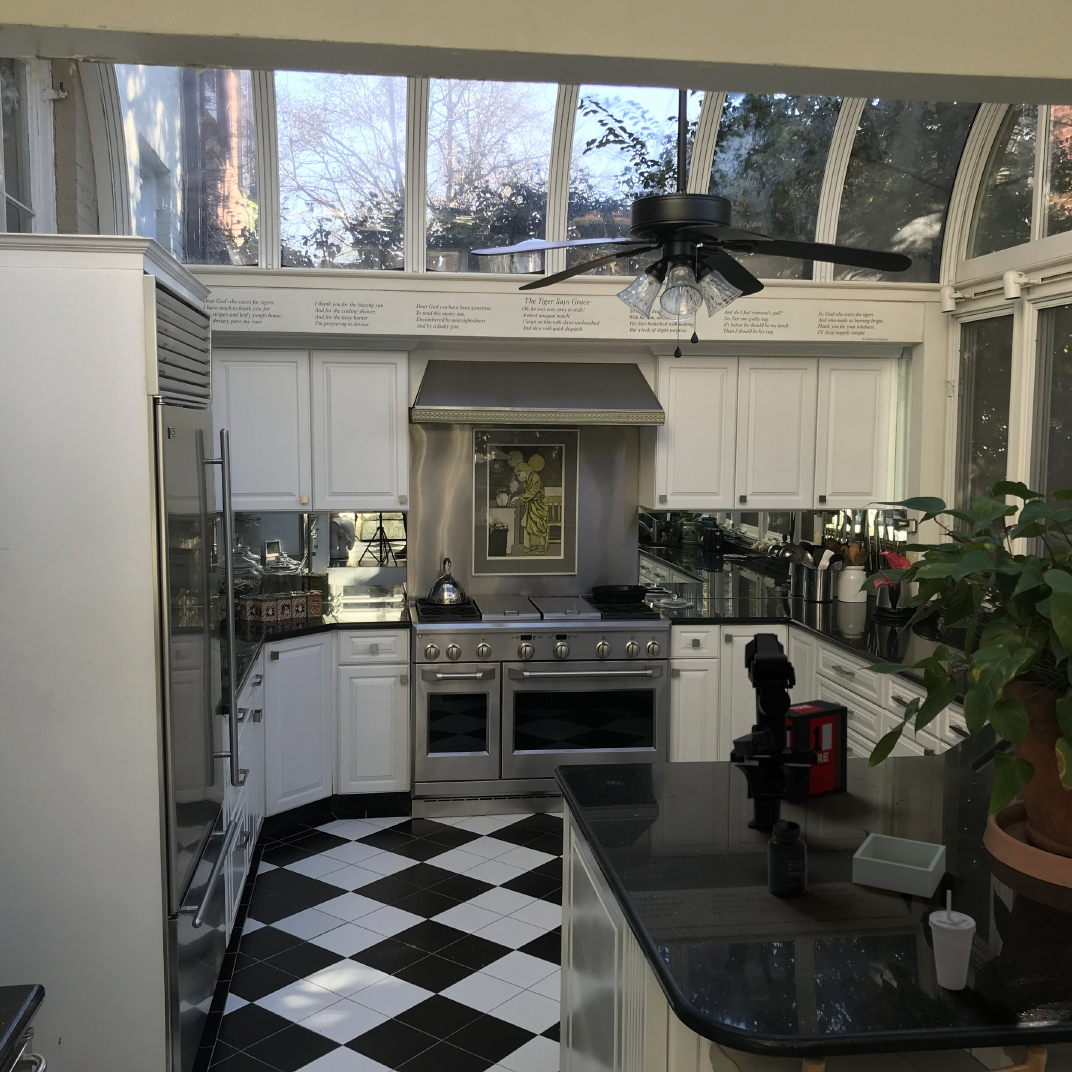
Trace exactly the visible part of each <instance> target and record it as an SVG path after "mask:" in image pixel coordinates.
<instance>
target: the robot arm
mask: <svg viewBox="0 0 1072 1072" xmlns="http://www.w3.org/2000/svg"><path fill="white" fill-rule="evenodd" d="M778 637H779V636H778V634H776V633H773V632H757V633H754V634H753V639H751V640H750V641H748V642H747V643H746V644H745V645H744V669H747V678H748V680H749V681H750V683H751V686H752V689H755V690H754V691H755V715H756V716H755V719H756V720H755V721H756V722H755V723H756V724H752V726H751V732H750V733H748V734H744V735H742V736H740V737H737V738H735V739H733V740H732V745H733V749H732V750H731V751H730V753H729V763H736V764H734V767H735V768H738V770H740V771H741V772H742V773H743V775H744V776H745V778H746V797H747V800H748V799H749V800H751V799H753V800H752V806H753V807H752V809H753V810H752V814H753V816H752V817H753V818H752V819H751V820H750V821H749V822H748V823H747V827H749V828H756V829H761V830H765V831H771V832H773V824H774V823H776V822H779V821H787V820H786V819H782V801H784V800H788V802H787V804H788V805H794V801H795V799H796V797H797V795H798V793H799V790H800V788H801V786H802V784H803V782H804V780H805V778H806V777H807V775H808V773H809V771H810V770H811V769H813V767H810V765H818V754H817V753H816V751H815V750H813V749H792V747H788V740H787V731H792V726H787V712H788V710H789V708H790V706H791V704H792V700H791V697H790V694H789V692H788V691H787V690H793V689H794V686H796V683H797V681H796V680H797V679H796V672H795V667H794V666H793V663H792V662H791V661H789V660H788V656H787V655H786V654H785V648H784V647H785V645H784V644H783V643H782V642H780V641H779V638H778ZM785 763H786V764H788V766H785Z"/></svg>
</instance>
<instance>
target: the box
mask: <svg viewBox="0 0 1072 1072" xmlns="http://www.w3.org/2000/svg"><path fill="white" fill-rule="evenodd" d="M946 848H947V845H943V844H937V843H930V842H924V841H918V840H914V839H913V840H912V839H906V838H901V837H896V836H895V837H894V836H890V835H889V836H888V835H885V834H879V833H873V832H871V833H869V835H868V836H867V838H866V839H865V840H864V842H863V843H862V844H861V845H860V847H859V848H858V849H857V851H856V852H855V853H854V854H853V856H852V883H854V884H858V885H863V886H868V887H873V888H880V889H884V890H888V891H889V890H890V891H894V892H899V893H903V894H909V895H914V896H919V897H923V898H929V899H932V897H933V895H934V894H935V892H936V890H937V888H938V886H939V884H940V882H941V880H942V878H943V876H944V875H945V873H946V856H947V855H946V851H947V849H946Z"/></svg>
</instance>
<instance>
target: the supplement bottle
mask: <svg viewBox="0 0 1072 1072" xmlns="http://www.w3.org/2000/svg"><path fill="white" fill-rule="evenodd" d="M801 829H802V828H801V824H799V823H798V822H795V821H791V820H789V821H788V820H786V821H779V822H776V823H774V824H773V831H772V836H773V837H771V838H770V839H769V840H768V842H767V883H768V885H767V886H768V890H769V891H770V892H771V894H774V895H775V896H780V897H784V898H797V897H801V896H804V895H805V894H806V892H807V890H808V858H807V857H808V856H807V855H808V854H807V853H808V848H807V844H806V842H805V841H804V840H803V839H802V838H801V837H802V832H801Z"/></svg>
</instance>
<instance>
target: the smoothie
mask: <svg viewBox="0 0 1072 1072" xmlns="http://www.w3.org/2000/svg"><path fill="white" fill-rule="evenodd" d="M928 918H929V921H928V925H929V926H930V927H931V935H932V944H933V950H934V951H933V952H934V959H935V961H934V962H935V967H936V979H937V983H938V985H939V986H941V987H942V988H944V989H947V990H952V991H960V990H963V989H965V987H966V983H967V975H968V969H969V963H970V962H969V961H970V956H971V949H972V944H973V943H972V942H973V938H974V937H973V936H974V934H975V933H976V931H977V927H976V920H974V919H973V918H972V917H970V916H969V915H967V914H964V913H961V912H959V911H953V910H952V891H951V890H949V889H948V890H947V889H946V910H937V911H934V912H931V913H930V914H929V917H928Z"/></svg>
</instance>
